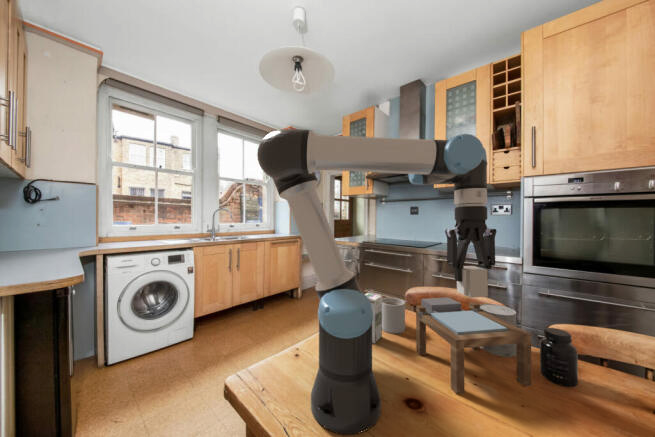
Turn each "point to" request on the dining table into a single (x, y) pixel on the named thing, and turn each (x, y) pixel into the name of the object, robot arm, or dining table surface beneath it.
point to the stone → (476, 281)
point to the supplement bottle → (559, 358)
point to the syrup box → (376, 316)
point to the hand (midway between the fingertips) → (471, 292)
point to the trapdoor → (459, 317)
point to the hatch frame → (475, 344)
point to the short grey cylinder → (507, 316)
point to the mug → (393, 315)
